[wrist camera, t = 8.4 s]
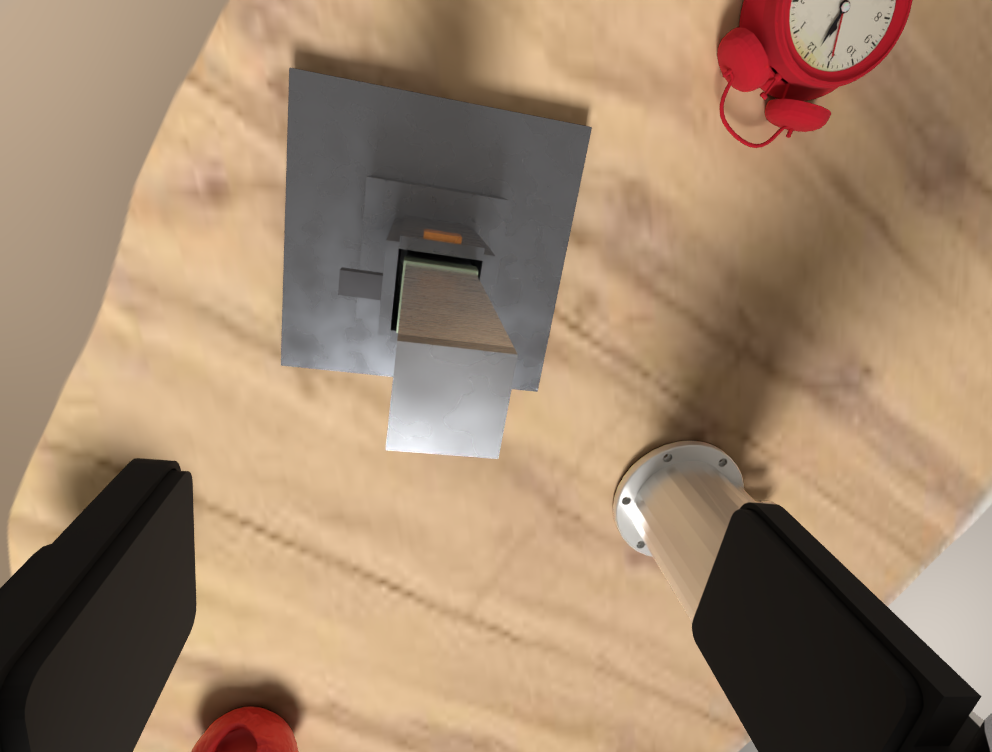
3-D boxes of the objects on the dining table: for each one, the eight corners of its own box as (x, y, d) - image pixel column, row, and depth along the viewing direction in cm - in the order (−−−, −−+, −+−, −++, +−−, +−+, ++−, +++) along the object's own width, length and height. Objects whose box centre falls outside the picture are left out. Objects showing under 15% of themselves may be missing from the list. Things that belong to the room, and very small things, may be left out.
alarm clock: (962, -31, 36) (840, 168, 36) (874, 12, 41) (770, 183, 42) (865, -157, 32) (731, 64, 33) (784, -90, 38) (672, 96, 39)
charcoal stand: (585, 128, 39) (682, 110, 25) (533, 384, 46) (586, 485, 32) (294, 71, 36) (211, 12, 21) (285, 358, 42) (218, 459, 28)
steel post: (468, 253, 30) (522, 351, 15) (459, 313, 31) (501, 462, 16) (406, 243, 29) (393, 336, 14) (399, 305, 30) (381, 453, 15)
